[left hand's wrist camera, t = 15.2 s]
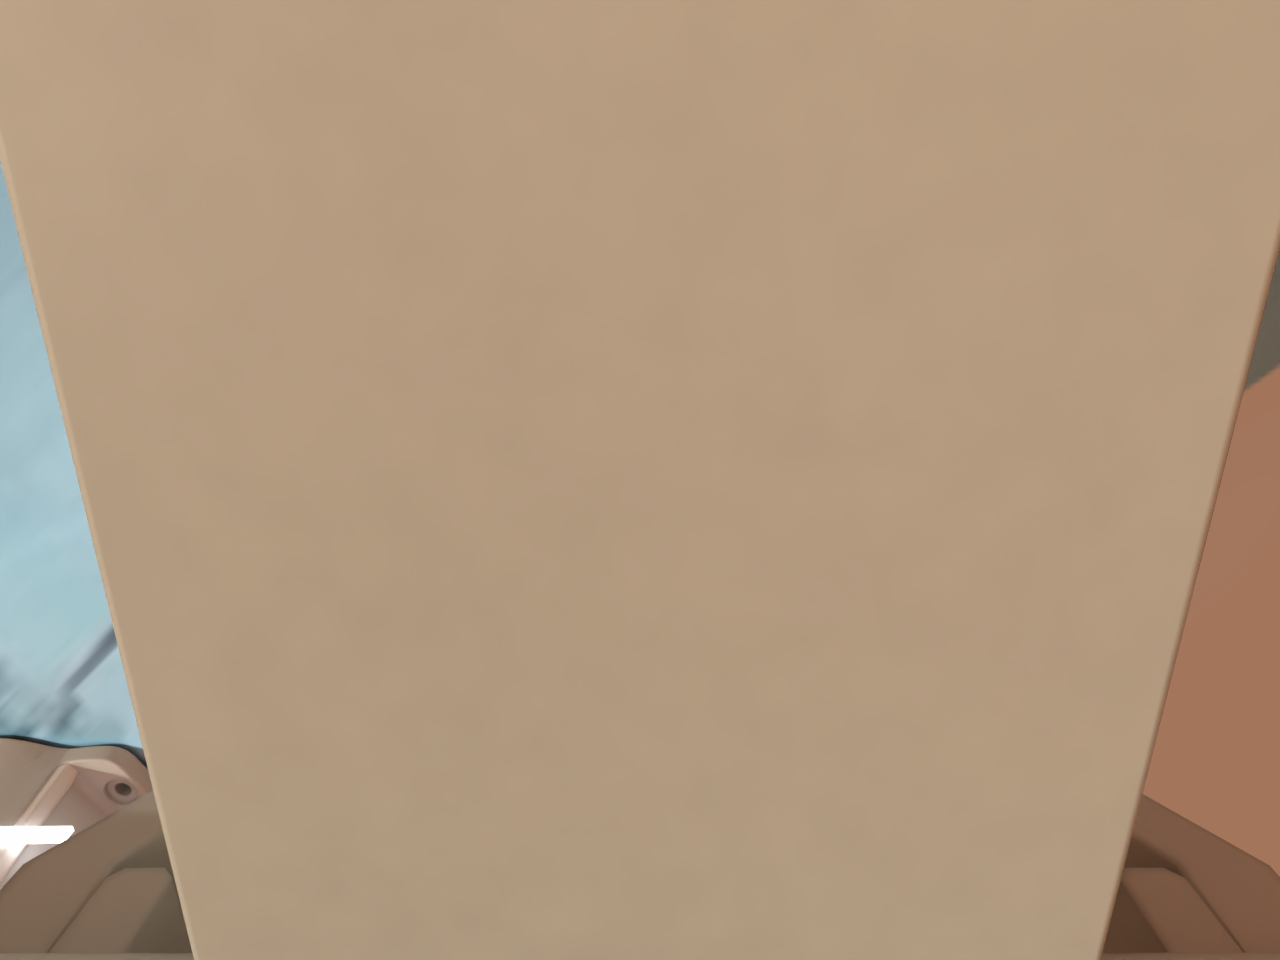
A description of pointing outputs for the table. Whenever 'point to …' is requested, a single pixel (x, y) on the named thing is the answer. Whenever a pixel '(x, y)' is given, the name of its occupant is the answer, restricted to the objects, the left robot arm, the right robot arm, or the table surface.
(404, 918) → the bar
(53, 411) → the table surface
